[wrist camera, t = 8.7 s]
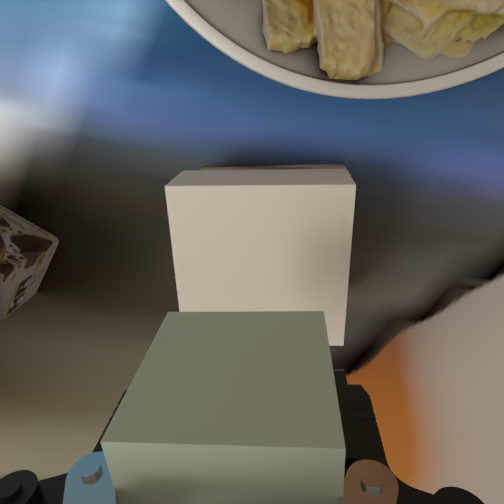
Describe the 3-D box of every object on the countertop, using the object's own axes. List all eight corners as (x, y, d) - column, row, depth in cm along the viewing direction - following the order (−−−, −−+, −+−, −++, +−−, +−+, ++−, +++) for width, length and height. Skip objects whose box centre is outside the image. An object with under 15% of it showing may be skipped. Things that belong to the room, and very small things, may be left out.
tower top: (196, 307, 28) (183, 341, 25) (183, 170, 24) (164, 186, 21) (335, 310, 27) (343, 345, 24) (345, 168, 23) (356, 184, 20)
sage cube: (187, 426, 16) (141, 581, 11) (168, 311, 14) (100, 441, 9) (321, 429, 15) (338, 595, 10) (323, 311, 13) (345, 448, 8)
